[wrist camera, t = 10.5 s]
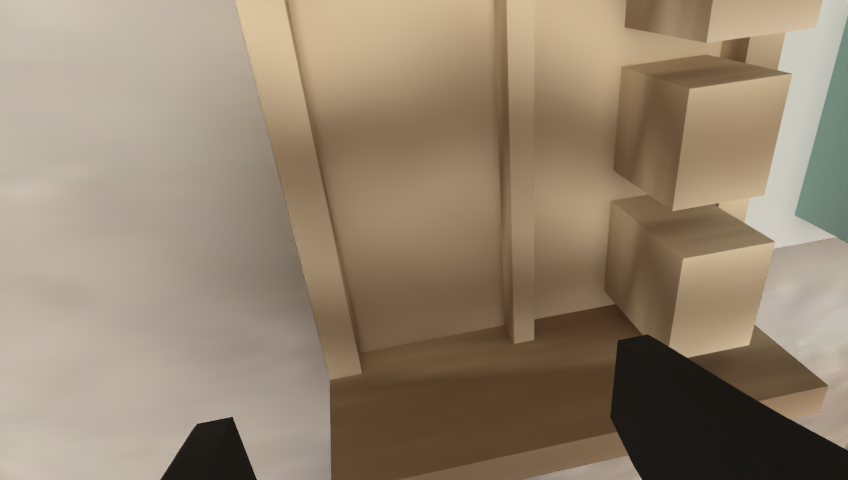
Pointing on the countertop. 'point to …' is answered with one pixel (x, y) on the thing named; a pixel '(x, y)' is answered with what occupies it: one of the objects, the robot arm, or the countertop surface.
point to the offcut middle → (698, 129)
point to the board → (830, 157)
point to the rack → (470, 225)
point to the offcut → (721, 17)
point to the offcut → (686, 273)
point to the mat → (799, 127)
